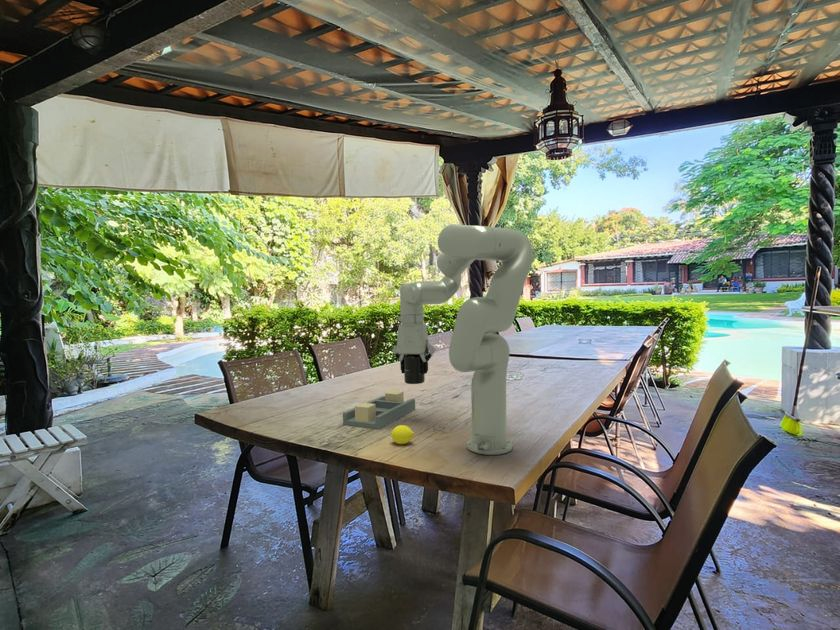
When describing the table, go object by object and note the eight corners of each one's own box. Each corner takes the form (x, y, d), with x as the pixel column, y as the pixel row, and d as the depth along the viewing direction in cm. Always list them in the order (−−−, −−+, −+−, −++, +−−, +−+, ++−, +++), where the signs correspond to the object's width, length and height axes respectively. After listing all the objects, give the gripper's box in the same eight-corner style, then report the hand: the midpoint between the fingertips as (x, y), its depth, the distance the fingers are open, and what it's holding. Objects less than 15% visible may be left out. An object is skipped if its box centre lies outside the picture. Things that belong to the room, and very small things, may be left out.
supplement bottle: (401, 384, 148) (399, 348, 148) (409, 380, 154) (407, 345, 154) (420, 384, 145) (419, 348, 145) (427, 380, 152) (426, 345, 151)
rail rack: (379, 429, 142) (378, 409, 142) (343, 424, 148) (342, 405, 148) (415, 409, 165) (414, 392, 165) (382, 406, 171) (382, 389, 171)
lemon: (389, 447, 127) (386, 429, 127) (395, 441, 132) (392, 423, 132) (412, 446, 125) (409, 427, 124) (418, 440, 130) (415, 421, 130)
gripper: (384, 321, 150) (386, 374, 150) (431, 320, 142) (433, 375, 143) (394, 320, 156) (397, 370, 157) (440, 319, 149) (442, 372, 149)
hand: (414, 372), depth 150 cm, fingers closed on supplement bottle, 6 cm apart
